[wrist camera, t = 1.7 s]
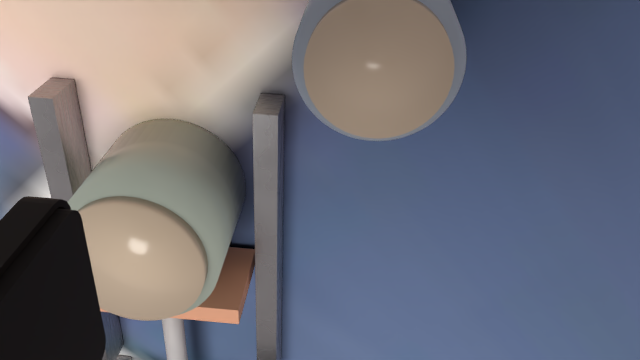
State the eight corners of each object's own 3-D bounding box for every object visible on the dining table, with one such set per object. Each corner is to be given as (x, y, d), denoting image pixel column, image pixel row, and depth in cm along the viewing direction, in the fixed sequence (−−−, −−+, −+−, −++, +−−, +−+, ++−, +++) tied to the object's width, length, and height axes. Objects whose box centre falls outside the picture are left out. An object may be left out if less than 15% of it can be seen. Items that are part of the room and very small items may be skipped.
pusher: (106, 236, 29) (68, 295, 26) (255, 249, 29) (238, 310, 25) (130, 371, 34) (102, 435, 31) (257, 383, 34) (243, 450, 31)
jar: (314, -71, 21) (291, -26, 15) (454, -62, 21) (485, -14, 15) (309, 61, 24) (288, 143, 18) (434, 70, 24) (453, 156, 18)
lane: (44, 77, 25) (-35, 140, 20) (291, 95, 25) (271, 163, 20) (111, 388, 36) (69, 478, 31) (285, 405, 35) (271, 499, 31)
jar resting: (97, 113, 26) (28, 187, 21) (244, 124, 26) (211, 202, 21) (117, 231, 30) (63, 321, 24) (247, 242, 29) (220, 335, 24)
